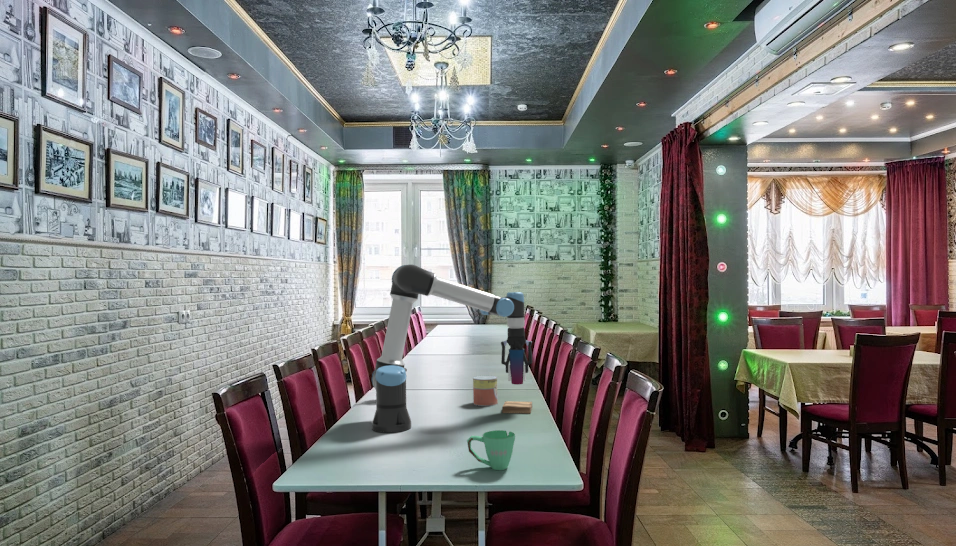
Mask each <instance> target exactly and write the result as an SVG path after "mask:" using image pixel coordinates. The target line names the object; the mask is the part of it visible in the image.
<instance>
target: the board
mask: <svg viewBox="0 0 956 546" xmlns="http://www.w3.org/2000/svg"><path fill="white" fill-rule="evenodd" d="M501 409H502V414H531V413H532V410H533V401H510V400H509V401H508V400H507V401H504V403H503V404H502V407H501Z"/></svg>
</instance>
